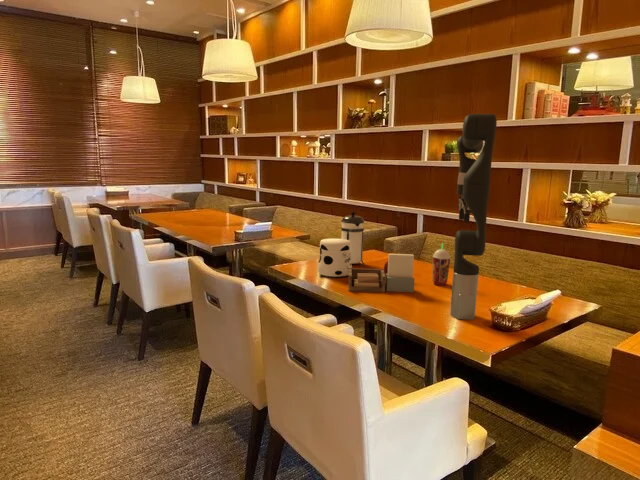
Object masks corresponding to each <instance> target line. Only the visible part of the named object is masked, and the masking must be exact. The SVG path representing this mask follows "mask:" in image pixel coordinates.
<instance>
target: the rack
mask: <svg viewBox="0 0 640 480" xmlns="http://www.w3.org/2000/svg"><path fill="white" fill-rule="evenodd" d="M357 273H377V274H378V276H379V278H378V281H379V287H361V286H354V279H357ZM385 280H386V276H385V274H384V268H359V267H358V268H356V267H352V268H349V276H348V292H363V293H364V292H365V293H386V287H385Z"/></svg>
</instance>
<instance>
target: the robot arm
mask: <svg viewBox="0 0 640 480" xmlns="http://www.w3.org/2000/svg"><path fill="white" fill-rule="evenodd" d="M497 119H498V118H497V116H496V114H494V113H471V114H467V115H466V116H465V117H464V119H463V123H462V135H460V136H459V137H458V138H457V140H456V149H457V153H458V158H459V165H458V166H459V168H458V176H457V187H456V194H457V195H459V196H458V201H457V202H458V204H457V209H458V220H460V221H463V223H470V216H471V214H472V216H473V219H474V220H475V223H476V224H475V225H476V230H463V229H462V230H461V229H460V230H457V231H456V233H455V236H454V262H453V271H452V285H451V297H450V312H449V315H450V316H451V317H453V318H455V319H457V320H470V321H471V320H474V321H475V318H476V310H477V309H476V308H477V296H478V284H479V275H480V274H479V273H480V267H479V265H478V264H476V263H474V262H471V261H469V260H467V259H466V258H465V257H464V256H477V257H481V256H483V255H484V253H485V250H486V243H487V242H486V241H487V239H486V238H487V217H488V216H487V215H488V208H489V206H488V205H489V198H490V190H491V189H490V188H491V175H492V160H493V153H494V146H495V140H496V133H497V126H498V125H497V124H498V123H497V122H498V121H497ZM466 153H467V154H471V153H472V154H476V153H479V155H478V157H477V158H476V159H475V158H471V157H468V156H466Z"/></svg>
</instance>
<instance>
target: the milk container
mask: <svg viewBox="0 0 640 480" xmlns="http://www.w3.org/2000/svg"><path fill="white" fill-rule="evenodd" d="M350 248H351V242H350V241H349V240H346V239H342V238H323V239H321V240H320V242H319V259H318V262H317V271H318V273H319V275H321V276H322V277H325V278H331V279H335V278H336V279H342V278H346V277H349V268H353V265H352V263H351V259H350V254H351V249H350Z"/></svg>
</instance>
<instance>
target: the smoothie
mask: <svg viewBox="0 0 640 480" xmlns="http://www.w3.org/2000/svg"><path fill="white" fill-rule="evenodd" d="M451 258H452V257H451V256H450V253H449V251H448V250H446V249H444V243H443V242H442V243H441V247H440V248H439V249H437V250H435V252H434V253H433V254H432V282H433V284H434V285H435V286H439V287H440V286H441V287H442V286H443V287H444V286H446V285H447V283H448V280H449V272H450V263H451Z"/></svg>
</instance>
